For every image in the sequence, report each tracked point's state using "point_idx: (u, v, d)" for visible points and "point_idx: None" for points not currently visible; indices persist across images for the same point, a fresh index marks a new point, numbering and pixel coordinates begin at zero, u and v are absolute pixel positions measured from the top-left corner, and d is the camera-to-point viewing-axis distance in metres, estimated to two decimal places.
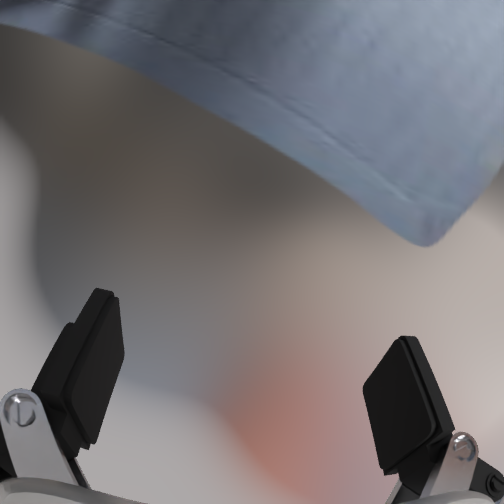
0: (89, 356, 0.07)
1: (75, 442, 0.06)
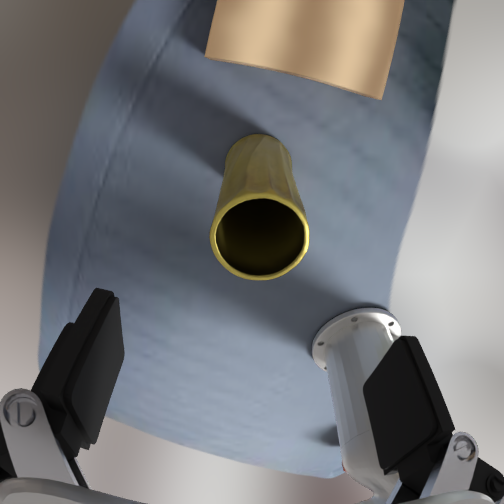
0: (89, 356, 0.07)
1: (75, 442, 0.06)
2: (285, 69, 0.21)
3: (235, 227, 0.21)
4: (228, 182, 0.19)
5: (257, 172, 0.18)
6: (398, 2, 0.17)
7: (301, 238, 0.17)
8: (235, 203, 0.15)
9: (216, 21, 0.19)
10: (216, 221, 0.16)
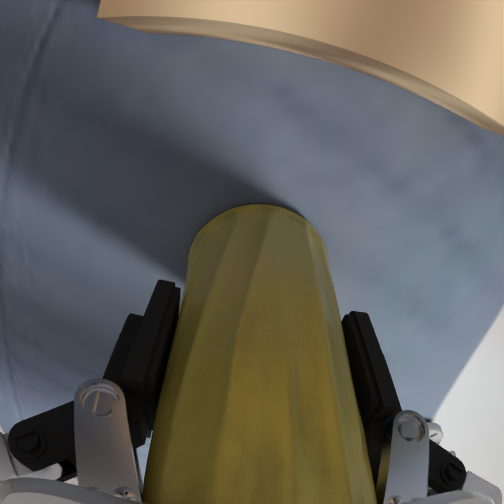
0: (164, 343, 0.08)
1: (145, 429, 0.07)
2: (342, 43, 0.06)
3: None
4: (158, 487, 0.04)
5: None
6: None
7: None
8: None
9: None
10: None
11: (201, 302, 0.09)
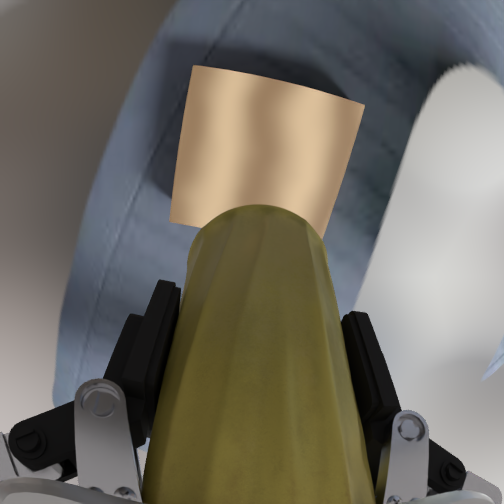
0: (164, 343, 0.08)
1: (145, 429, 0.07)
2: None
3: None
4: (157, 487, 0.04)
5: None
6: (343, 158, 0.25)
7: None
8: None
9: (176, 191, 0.27)
10: None
11: (200, 302, 0.09)
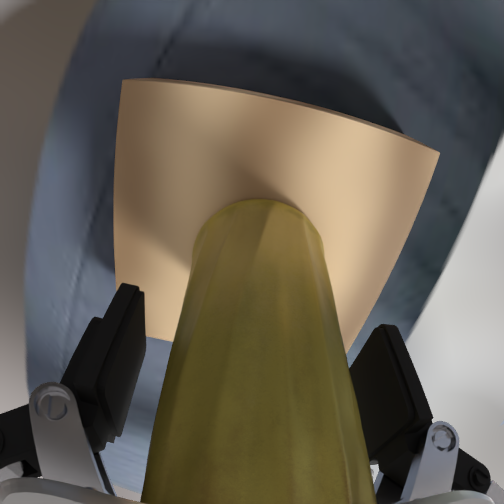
0: (120, 348, 0.07)
1: (103, 434, 0.06)
2: None
3: None
4: (163, 447, 0.05)
5: (249, 463, 0.04)
6: (396, 242, 0.14)
7: None
8: None
9: None
10: None
11: (205, 284, 0.09)
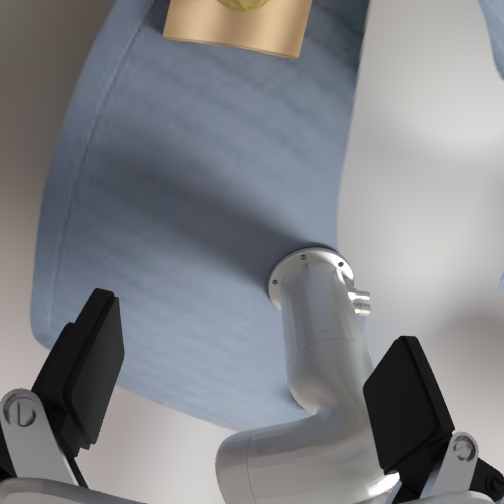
0: (89, 356, 0.07)
1: (75, 442, 0.06)
2: (220, 41, 0.26)
3: None
4: None
5: None
6: None
7: None
8: None
9: (170, 11, 0.24)
10: None
11: None
